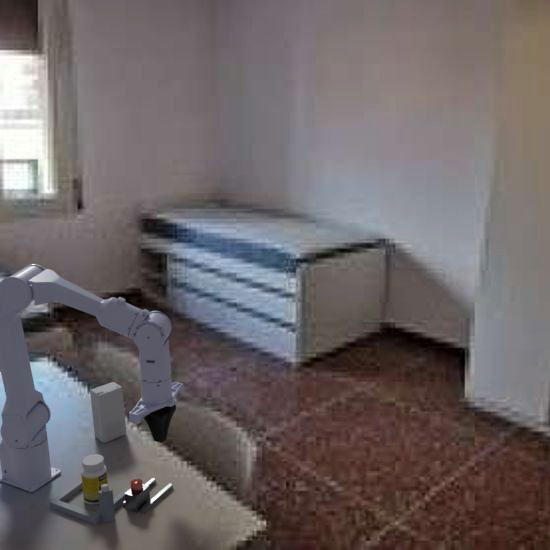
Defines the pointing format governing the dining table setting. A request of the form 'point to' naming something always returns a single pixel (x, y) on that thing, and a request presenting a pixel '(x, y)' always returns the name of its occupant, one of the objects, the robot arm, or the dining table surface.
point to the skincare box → (108, 412)
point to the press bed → (103, 514)
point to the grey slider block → (137, 496)
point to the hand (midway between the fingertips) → (160, 440)
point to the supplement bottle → (93, 477)
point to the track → (155, 498)
